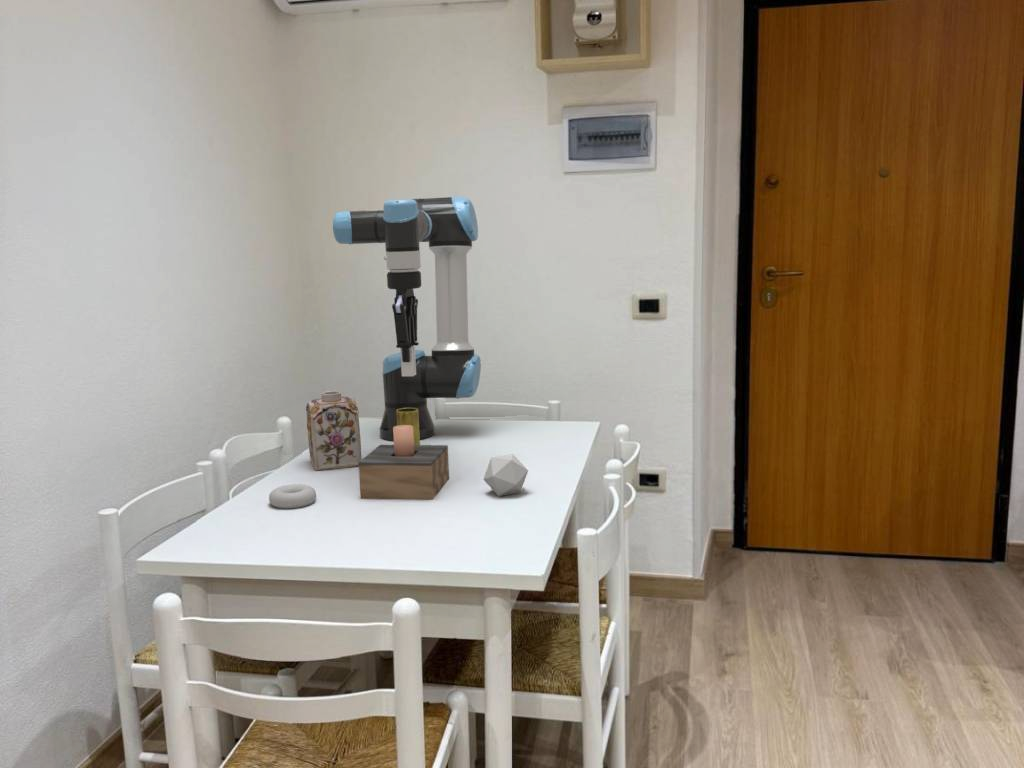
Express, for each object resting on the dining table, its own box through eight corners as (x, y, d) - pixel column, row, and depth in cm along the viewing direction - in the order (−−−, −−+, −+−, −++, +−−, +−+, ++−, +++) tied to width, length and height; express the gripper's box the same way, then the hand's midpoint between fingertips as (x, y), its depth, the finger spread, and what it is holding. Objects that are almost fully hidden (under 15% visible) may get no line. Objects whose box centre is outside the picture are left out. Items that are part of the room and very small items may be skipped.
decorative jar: (355, 455, 246) (351, 386, 243) (363, 466, 235) (358, 394, 232) (308, 460, 243) (303, 390, 239) (313, 471, 232) (308, 398, 229)
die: (517, 487, 215) (489, 453, 214) (542, 474, 209) (513, 439, 208) (498, 510, 209) (468, 475, 208) (523, 497, 203) (493, 461, 202)
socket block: (382, 478, 224) (380, 444, 222) (449, 479, 221) (447, 445, 220) (360, 498, 208) (358, 462, 207) (432, 499, 205) (430, 463, 204)
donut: (311, 495, 213) (265, 501, 209) (310, 480, 212) (264, 485, 208) (321, 507, 204) (273, 513, 200) (320, 491, 203) (272, 497, 199)
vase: (418, 470, 229) (415, 412, 227) (394, 470, 230) (390, 412, 228) (425, 464, 235) (423, 407, 233) (401, 463, 236) (398, 407, 234)
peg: (398, 458, 216) (396, 424, 215) (416, 458, 215) (415, 425, 214) (392, 463, 212) (390, 429, 210) (411, 463, 211) (410, 429, 210)
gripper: (396, 269, 221) (401, 370, 225) (378, 272, 207) (384, 380, 211) (427, 268, 219) (432, 370, 223) (411, 272, 206) (417, 380, 210)
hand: (409, 375), depth 217 cm, fingers closed
